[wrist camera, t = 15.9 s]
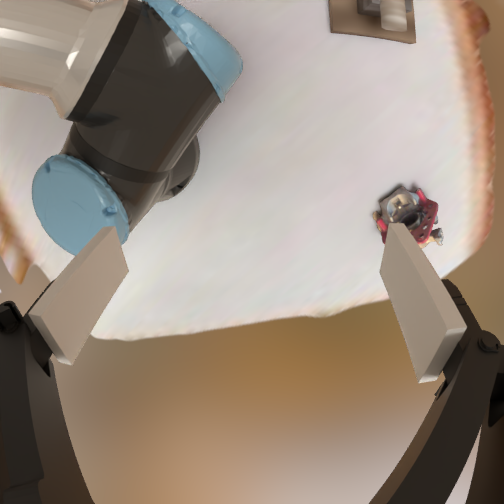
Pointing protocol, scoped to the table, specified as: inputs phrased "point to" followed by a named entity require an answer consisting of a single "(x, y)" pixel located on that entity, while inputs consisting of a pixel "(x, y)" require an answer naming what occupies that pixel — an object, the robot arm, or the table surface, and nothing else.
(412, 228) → the brake caliper
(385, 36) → the shaft stand
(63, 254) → the table surface
